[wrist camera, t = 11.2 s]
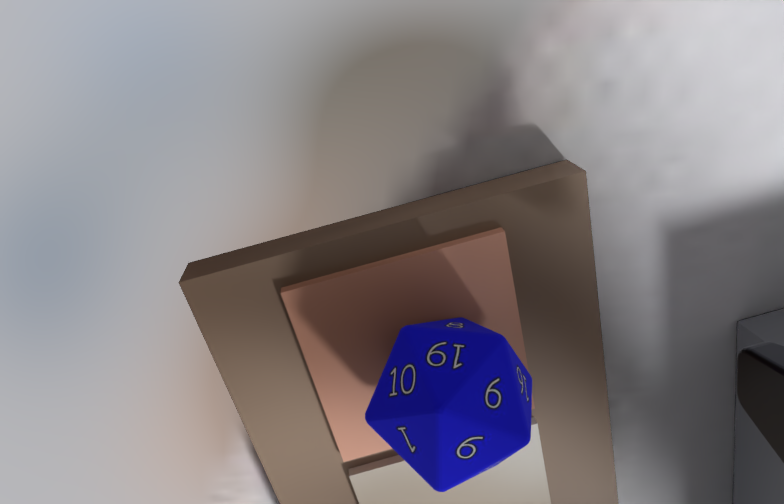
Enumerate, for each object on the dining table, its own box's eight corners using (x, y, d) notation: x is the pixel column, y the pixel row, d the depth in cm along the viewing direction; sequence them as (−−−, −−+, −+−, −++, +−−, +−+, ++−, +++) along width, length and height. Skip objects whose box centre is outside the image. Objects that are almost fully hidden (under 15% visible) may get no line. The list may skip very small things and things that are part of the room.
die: (531, 357, 11) (523, 523, 9) (402, 344, 12) (373, 497, 10) (539, 285, 9) (530, 484, 7) (380, 272, 9) (338, 454, 8)
